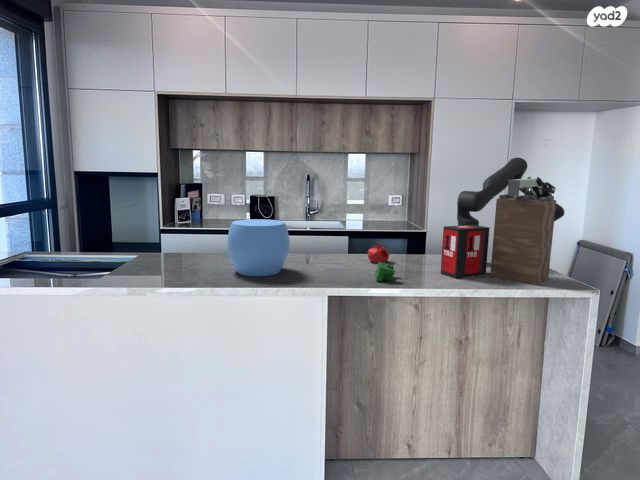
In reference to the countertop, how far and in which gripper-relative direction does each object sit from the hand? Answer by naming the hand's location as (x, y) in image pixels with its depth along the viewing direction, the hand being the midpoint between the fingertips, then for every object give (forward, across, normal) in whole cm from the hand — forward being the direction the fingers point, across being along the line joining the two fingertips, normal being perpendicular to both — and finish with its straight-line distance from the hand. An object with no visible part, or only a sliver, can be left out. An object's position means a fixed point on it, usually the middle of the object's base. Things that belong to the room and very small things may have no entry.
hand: (533, 179), depth 193 cm
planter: (+52, -78, +76) cm, 120 cm away
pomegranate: (+7, -55, +50) cm, 75 cm away
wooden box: (-9, +2, +41) cm, 42 cm away
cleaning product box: (+1, -16, +46) cm, 49 cm away
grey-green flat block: (+5, 0, +6) cm, 8 cm away
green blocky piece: (+28, -34, +62) cm, 76 cm away
